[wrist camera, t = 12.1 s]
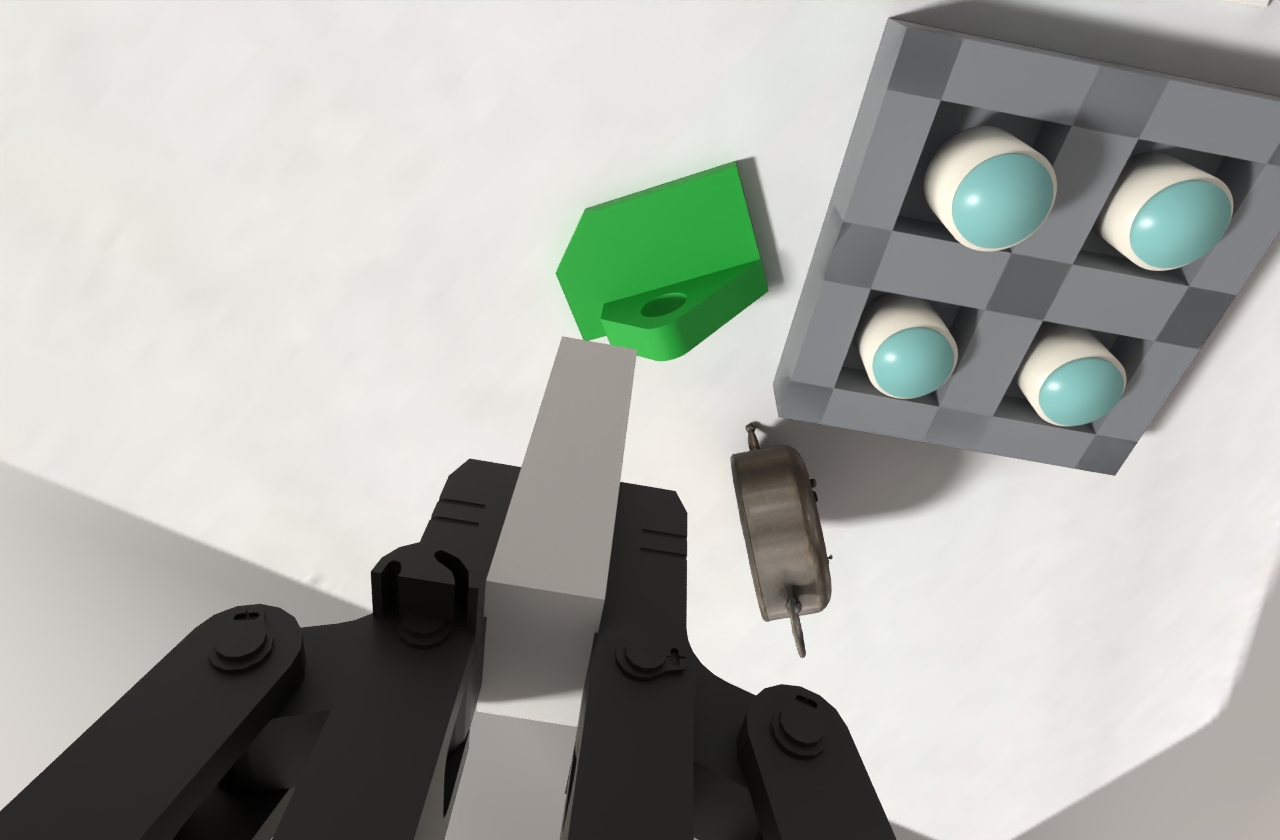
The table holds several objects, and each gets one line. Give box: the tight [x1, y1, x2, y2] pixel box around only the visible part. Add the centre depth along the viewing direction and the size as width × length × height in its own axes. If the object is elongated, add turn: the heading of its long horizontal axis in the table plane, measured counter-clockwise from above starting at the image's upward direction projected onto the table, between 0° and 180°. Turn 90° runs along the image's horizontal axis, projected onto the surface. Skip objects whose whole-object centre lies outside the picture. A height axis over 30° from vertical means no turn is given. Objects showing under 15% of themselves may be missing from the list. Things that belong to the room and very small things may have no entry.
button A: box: [1092, 152, 1233, 271], centre depth 39 cm, size 5×5×4 cm
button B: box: [1013, 322, 1126, 426], centre depth 45 cm, size 5×5×4 cm
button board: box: [773, 18, 1280, 476], centre depth 43 cm, size 22×22×4 cm
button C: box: [924, 126, 1057, 251], centre depth 37 cm, size 5×5×4 cm
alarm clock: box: [731, 424, 832, 658], centre depth 47 cm, size 11×5×16 cm, turn 14°
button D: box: [854, 293, 958, 399], centre depth 44 cm, size 5×5×4 cm
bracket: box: [556, 161, 768, 361], centre depth 43 cm, size 12×8×7 cm, turn 109°
